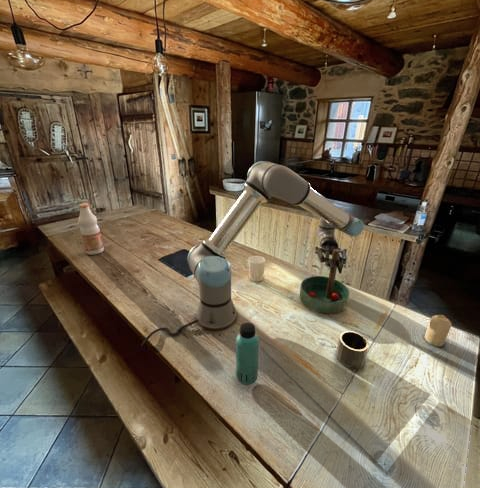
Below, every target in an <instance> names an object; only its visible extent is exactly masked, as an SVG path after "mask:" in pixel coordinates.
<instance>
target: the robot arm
mask: <svg viewBox="0 0 480 488" xmlns="http://www.w3.org/2000/svg"><path fill="white" fill-rule="evenodd" d="M246 177H247V178H246V181H245V182H244V183H243V191H242V192H241V194H240V195H239V197H238V198H237V199H236V200H235V203H234V204H233V205H232V206H231V208H230V209H229V211H227V213H226V215H225V216H224V217H223V219H222V220H221V221H220V223H219V224H218V226H217V227H216V228H215V230H214V231H213V232H212V234H211V235H210V237H209V238H206V239H202V241H201V242H200V243H198V244H196V245H194V246H193V247H192V248H191V249H190V250H189V252H188V254H187V264H188V268H189V270H190V271H191V273H192V275H193V277H194V278H195V280H196V282H197V284H198V289H199V303H198V306H197V309H196V314H195V317H196V319H195V320H193V321H191V322H189V323H186V324H184V325H182V326H180V327H179V328H178V329H177V331H176V332H172V331H171V330H170V329H169V328H168V327H165V326H164V327H159V328H157V329H154V330H153V331H151V332H150V333H149V334H148V335H147V336H146V337H145V339H144V340H143V341H142V343H141V346H142V347H143V346H145V345H146V343H147V342H148V341H149V339H150V338H151V337H152V336H153V335H154V334H155V333H157V332H160V331H166V332H167V333H168V334H169V335H170V336H172V337H175V336H177V335H179V334H180V333H181V331H182V330H183V329H185V328H187V327H189V326H191V325H194V324H196V323H198V325H199V326H201V327H202V328H204V329H207V330H211V331H221V330H224V329H227V328H229V327H230V326H231V325H233V324H234V323H235V322H236V319H237V310H236V306H235V304H234V302H233V299H232V268H231V264H230V262H229V261H228V259H226V258H227V257H228V256H227V251H228V250H229V249H230V247H231V246H232V244H233V243H234V241H235V240H236V239H237V238H238V236H239V235H240V234H241V232H242V230H243V229H244V228H245V227H246V225H247V224H248V222H249V221H250V220H251V219H252V217H253V216H254V214H255V213H256V211H257V210H258V209H259V207H260V206H261V205H262V204H265V203H268V202H269V201H270V200H271V198H272V197H273V198H275V199H278V200H281V201H284V202H286V203H288V204H291V205H292V206H295V207H297V206H299V207H301V208H302V209H304V210H306V211H307V212H309V213H311V214H312V215H314V216H316V217H317V218H319V222H318V228H317V230H316V238H317V239H318V243H319V247H318V246H315V247H314V253H315V254H316V256H317V258H318V259H319V262H320V263H322V264H324V265H325V266H326V267H328V268H329V273H330V272H331V273H333V269H334V265H333V262H332V257H330V256H332V254H333V249H339V250H340V252H339V258H338V264H337V271H338V274H342V272H343V268H344V265H346V264H347V259H348V257H347V251H348V249H347V248H343V249H341V247H339V243H338V241H337V239H336V237H335V232H336V230H338V231H340V232H342V233H344V234H345V235H348V236H349V237H353V238H355V237H358V236H360V235H361V234H362V232H363V231H364V228H365V224H364V222H363V220H361V219H359V218H357V217H354V216H353V215H351V214H350V213H348V212H347V211H345V210H344V209H342V208H341V207H339V205H338V204H336V203H334V202H332V201H330V200H329V199H328V198H326V197H325V196H323V195H322V194H320V193H319V192H317V191H316V190H314V189H313V188H312V187H311V184H310V183H309V182H308V181H307V180H305V179H304V178H303V177H302V176H300V175H299V174H298V173H296V172H295V171H293V170H292V169H291V168H289V167H287V166H286V165H282V164H277V163H273V162H272V161H267V160H264V161H263V160H260V161H257V162H255V163H253V164H252V165H251V167H249V169H248V171H247V174H246Z"/></svg>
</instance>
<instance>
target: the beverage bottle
mask: <svg viewBox="0 0 480 488" xmlns="http://www.w3.org/2000/svg"><path fill="white" fill-rule="evenodd" d="M239 328H240V329H239V333H238V334H237V336H236V338H235V344H236V345H235V376H236V380H237V381H238V382H239V383H240V385H243V386H251V385H253V384H255V383H256V381H257V380H258V377H259V376H258V374H259V343H260V338H259V336H258V335H257V334H256V326H255V324H253V323H252V322H243V323H242V324H240V327H239Z"/></svg>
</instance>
